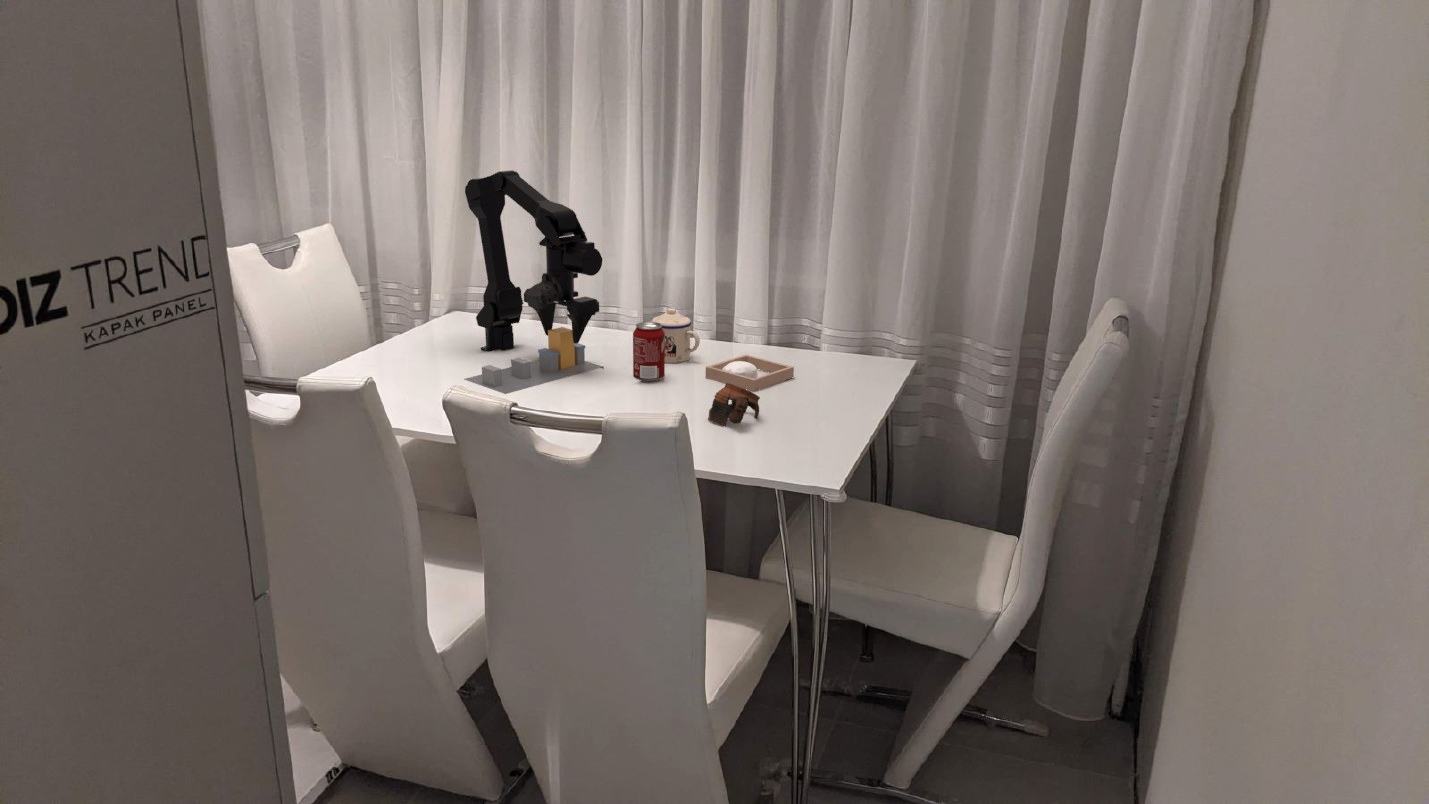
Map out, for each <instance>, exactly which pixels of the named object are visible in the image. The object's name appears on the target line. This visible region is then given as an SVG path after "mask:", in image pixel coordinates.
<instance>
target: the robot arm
mask: <svg viewBox="0 0 1429 804" xmlns="http://www.w3.org/2000/svg"><path fill="white" fill-rule="evenodd" d="M464 194H465V198H466V201H467V205H468V208H469V210H470V211H471V212H472V214H473V215H474V216H475V218H477V221H478V227H479V234H480V239H481V246H482V252H483V259H484V264H485V271H486V279H487V284H486V288H485V290H484V293H483V297H482V299H483V306H482V308H481V309H480V311H479V312H478V313H477V314H476V316H475V320H476V323H477V326H478V327H480V328H481V327H482V328H483V329H484V330H485V333H484V334H485V346H482V347H480V350H481V351H485V352H487V353H490V352H494V351H498V350H499V351H508V350H513V349H515V341H514V328H513V327H514V326H513V325H514V324H519V323H520V319H521V315H522V312H523V308H524V307H523V305H524V303H527V305H528V307H530V308H531V309H533V310H534V311H535V312H536V313H537V315H538V318H539V320H540V323H541V326H542V328H543V331H544V333H545V335H546V336H547V337H548V330H551V329H553V326H554V319H555V312H556V307H557V305H560V306H562V307H563V306H564V307H566V310H567V312H568V314H566V316H567V317H568V319H569V320H570V321H571V330H572V334H573V341H574V343H575V344H576V343H579V342H580V340H581V339H582V336H583V334H584V331H585V330H586V328H587V325H588V324H589V321H590V320H591V319H592V317H593V316H596V313H600V302H599V300H598V299H597V298H593V297H590V296H589V297H588V296H582V297H579V291H577V290H575V279H578V278H579V274H581V275H585V276H590V277H593V276H595V275H597V274H598V273H599V272H600V270H601V269H602V266H603V257H602V254H601V253H600V251H599V250H598V249H597V248H595V242H592V241H588V237H587V235H586V232H585V230H583V227H582V225H581V223H580V221H579V219H578V217H577V214H576V212H575V211H574V210H573V209H571V208H570V207H568V206H566V205H564V204H561V203H558V202H554V201H551V200H550V199H548V198H546V196H544V195H543V194H542V193H541V192H539V191H538V190H536V189H535V188H534V187H533V186H532V185H531V184H530V183H528V182H527V181H525V180H524V179H523V178H522V177H521V175H520V173H518V171H515V170H513V169H512V170H503V171H497V172H495V173H493V174H491V175H488V176H486V177H479V178H472V179H469V180H468V182H467V184H466V185H465V187H464ZM506 196H508V198H510V199H511V200H512V201H514V202H515V204H517V205H518V206H519V207H521V208H522V209H523V210H524V211H525V212H527V213H528V214H529V215H530V216H531V217H532V218H533V219H534V223H535V227H536V228H537V229H538V230H539V231H540V233H541V234H542V235H543V238H542V240H540V241H539V242H538V243H539V246H541V247H542V246H543V247H545V253H546V254H545V259H546V272H543V273H542V275H541V281H540V282H539V283H536V284H534V285H532V286H530V288H526V290H525V291H524V293H523V297H522V289H521V287H520V286H515V284H514V283H513V282H512V281H511V278H510V277H511V276H510V271H509V263H508V258H507V250H506V243H505V238H504V232H503V227H502V225H503V224H502V218H501V216H502V213H503V211H504V207H505V206H506ZM579 344H580V343H579Z"/></svg>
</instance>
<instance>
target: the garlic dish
mask: <svg viewBox="0 0 1429 804" xmlns="http://www.w3.org/2000/svg"><path fill="white" fill-rule="evenodd" d="M735 361H744V362H748V363H751V364H753V365H754V366H755V367H756V368H757V369H760V370H759V371H761V370H763V371H762V372H764V371H766V373H767V374H763V375H761V376H757V377H756V378H754V379H753V378H749V377H746V376H742V375H739V374H735V373H731V372H728V371H724V370H722V369H723V367H725V366H726V365H728V364H729V363H731V362H735ZM794 368H795V366H792V365H789V364H784V363H780V362H776V361H772V360H769V359H764V358H761V357H757V356H753V355H750V354H742V355H740V356H736V357H734V358H730V359H727V360H724V361H723V360H722V361H720V362H717V363H714V364H711V365H708V366H705V379H708V380H712V381H715V382H718V383H723V384H726V383H731V384H734V385H737V386H739V387H742V388H744V389H747V390H748V391H751V392H752V393H754V392H757V391H760V390H763V389H765V387H766V388H768V386H769V387H771V386H770V385H772V386H773V385H774V386H775V385H778V384H781V383H783V382H786V381H788V380H787V379H789V380H791V379H790V378H792V377H793V378H794V373H795V371H794ZM768 372H769V373H768ZM793 378H792V379H793ZM785 380H786V381H785ZM762 388H763V389H762ZM759 389H760V390H759Z"/></svg>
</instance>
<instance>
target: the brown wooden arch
mask: <svg viewBox="0 0 1429 804" xmlns="http://www.w3.org/2000/svg"><path fill="white" fill-rule="evenodd" d="M724 384H725V383H724ZM760 399H761V397H760V396H759V395H758V394H756V393H754V392H753V391H750V390H746V389H744V388H742V387H739V386H737V385H734V384H731V383H726V384H725V385H724V386H723V388H721V389H720V390H718V391H717V392H716V393H715V395H714V398H713V400H712V404H711V408H709V410H708V417H707V420H709V421H712V423H714V424H717V425H719V426H722V427H724V426H725V427H726V426H727V422H728V420H729V422H730V423H732V424H733V425H736V424H741V423H742V420H743V419H744V416H745V414H746V412H747V409H748V407H750V408H751V410H753V411H754V416H753V418H754V419H755V418H756V419H758V418H759V415H760V405H759V400H760ZM729 401H731V403H729Z"/></svg>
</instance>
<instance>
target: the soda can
mask: <svg viewBox="0 0 1429 804" xmlns="http://www.w3.org/2000/svg"><path fill="white" fill-rule="evenodd" d="M661 327H662V324H660V323H657V322H652V321H641V322H638V323H636V325H635V329H634V330H633V332H632V376H633V378H634V379H636V380H639V381H641V382H643V383H654V382H659V381H661V379H663V378H664V377H665V376H666V375H665V371H666V370H665V367H666V366H665V364H666V363H665V333H664V331H663V329H662V328H661Z"/></svg>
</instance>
